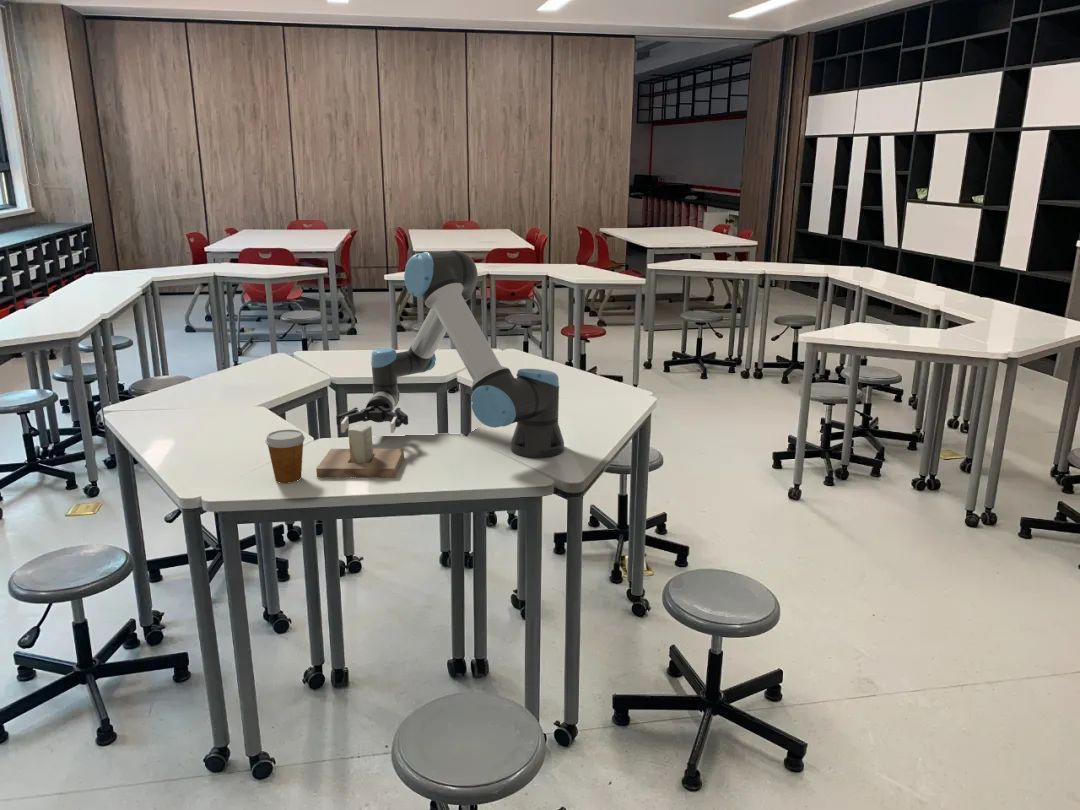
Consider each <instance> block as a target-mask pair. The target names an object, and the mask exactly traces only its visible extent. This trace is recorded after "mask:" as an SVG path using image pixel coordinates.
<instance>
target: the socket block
mask: <svg viewBox="0 0 1080 810" xmlns="http://www.w3.org/2000/svg"><path fill="white" fill-rule="evenodd" d="M404 458H405V449H404V448H373V459H372V461H371V463H351V461H350V448H330V449H329V451H328V452H327V453H326V455H325V456H324V457H323V459H322V460H321V462H320V463H319V464H318V465H317V467H316V478H317V477H340V478H339V479H342V478H343V479H344V478H345V479H349V478H351V477H352V478H353V477H354V478H353V479H355V477H356V478H357V479H362V478H363V479H364V478H365V479H380V478H381V479H387V478H388V479H394V478H396V477H397V475H398V472H399V470H400V468H401V465H402V463H403V461H404ZM346 477H347V478H346ZM352 478H351V479H352Z"/></svg>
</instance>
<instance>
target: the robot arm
mask: <svg viewBox="0 0 1080 810" xmlns="http://www.w3.org/2000/svg"><path fill="white" fill-rule="evenodd" d="M478 275H479V274H478V268H477V265H476V263H475V261H474V260H473V258H472V257H471V256H470V255H468V254H467V253H465V252H463V251H460V250H456V249H455V250H446V251H435V252H428V251H423V252H422V253H417V254H413V255H412V256H411V257H410V258H409V259H408V260H407V262H406V265H405V268H404V274H403V276H404V277H403V278H404V284H405V287H406V290H407V292H408V293H409V294H410V295H411V296H414V297H415V298H421V299H422V301H423V303H424V304H425V305H424V306H426V308H429V309H430V310H429V311H428V313H427V314H426V315H427V316H425V317H426V318H425V319H424V321H423V323H422V325H421V326H420V328H419V330H418V332H417V333H416V336H415V338H414V340H413V342H412V343H411V345H410V347H409V349H408V350H406V351H400V352H397V351H396V350H395V349H394V348H391V347H383V348H382V347H380V348H376V349H374V350H372V352H371V360H370V362H371V363H370V365H371V372H372V397H371V398H370V399H369V401H368V402H367V403H366V406H365V408H362V409H360V410H359V408H358V407H354V408H352V409H350V410H348V411H345V412H342V413H340V414H338V415H336V417H335V419H336V425H338V426H339V427H340V433H341V434H344V433H345V432H346V431H347V430H348V428H349V427H350V424H354V423H358V422H359V423H360V422H363V423H364V422H368V421H372V422H375V423H384V422H389V423H390V424H389V425H390V433H392V434H394V433H395V431H396V429H397V428H400V427H401V426H402V424H403V425H405V426H408V425H409V415H408V414H406V413H405V412H404V411H402V410H401V408H400V407H397V406H398V404H399V401H400V395H401V394H400V391H399V388H398V378H400V377H405V376H406V377H407V376H410V375H414V374H415V375H416V374H421V373H425V372H428V371H431V370H432V369H433V368H435V366H436V360H437V358H436V357H437V356H436V354H435V352H436V351H437V350H438V348H439V345H440V344H441V342H442V340H443V339H444V337H445V335H446V333H447V335H448V337H449V339H450V341H451V342H452V344H453V346H454V349H455V350H456V352H457V354H458V356H459V357H460V360H461V361H462V363H463V365H464V367H465V368H466V370H467V372H468V374H469V376H470V377H471V379H472V385H471V386H470V387H471V391H472V394H471V397H470V401H471V404H470V405H471V409H472V412H473V414H474V416H475V417H476V419H477V420H478V421H479V422H480V423H481V424H483V425H484V426H486V427H490V428H500V427H507V426H510V425H511V424H514V423H516V427H515V429H514V433H513V436H512V438H511V442H510V450H511V452H513V453H514V454H516V455H519V456H522V457H526V458H550V457H555V456H558V455H560V454H562V453H563V452H564V450H565V440H564V438H563V434H562V430H561V428H560V424H559V405H560V404H559V403H560V402H559V401H560V384H559V383H560V382H559V376H558V374H557V373H556V372H553V371H550V370H546V369H539V368H520V369H518V370H517V372H516V374H515V375H516V377H514V375H513V374H512V371H511V369H510V368H508V367H506V366H504V365H503V366H502V365H501V363H500V361H499V359H498V358H497V356H496V354H495V353H494V350H493V349H492V347H491V345H490V344H489V343H490V342H488V340H487V338H486V336H485V334H484V333H483V331H482V329H481V327H480V325H479V323H478V321H477V320H476V318H475V316H474V314H473V312H472V311H471V309H470V307H469V305H468V304H467V301H468V300H470V298H471V296H472V295H473V293H474V291H475V289H476V286H477V282H478ZM395 407H396V408H395Z"/></svg>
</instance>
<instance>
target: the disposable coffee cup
mask: <svg viewBox="0 0 1080 810" xmlns="http://www.w3.org/2000/svg"><path fill="white" fill-rule="evenodd" d="M305 439H306V437H305V436H304V433H303V432H302V431H301V430H298V429H292V428H291V429H290V428H288V429H278V430H275V431H271V432H269V433H267V435H266V439H265V441H264V443H265V444H266V446H267V447H268V452H269V456H270V462H271V466H272V470H273V474H274V478H275V479H274V480H275V482H276V481H277V483H279V482H280V483H279V484H289V483H288V482H293V481H296V482H298V481H297V480H299V479H300V478H301V479H302V471H303V469H302V467H303V454H304V452H303V451H304V441H305ZM301 479H300V480H301ZM300 480H299V481H300ZM293 483H294V482H293Z"/></svg>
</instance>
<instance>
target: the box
mask: <svg viewBox="0 0 1080 810" xmlns="http://www.w3.org/2000/svg"><path fill="white" fill-rule="evenodd" d="M347 430H348V444H349V449H350V461H351V463H371V461H372V459H373V449H374V448H373V447H374V446H373V432H372V425H364V424H357V425H354V426H353V427H351V428H350V429H347Z"/></svg>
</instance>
